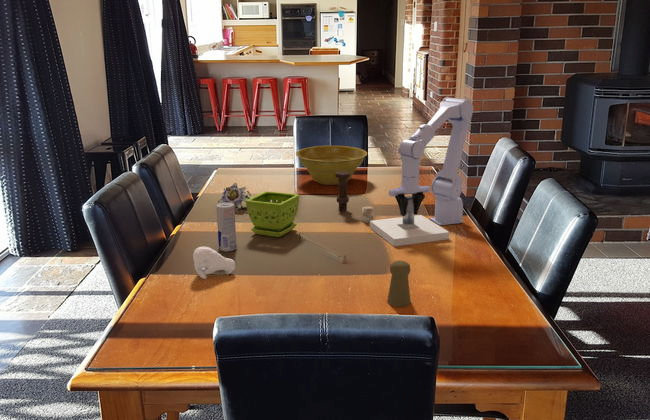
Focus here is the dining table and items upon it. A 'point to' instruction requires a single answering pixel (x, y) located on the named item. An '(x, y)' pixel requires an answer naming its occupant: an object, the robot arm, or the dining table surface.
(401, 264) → the pepper shaker
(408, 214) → the long pin
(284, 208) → the flower pot
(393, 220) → the hole plate
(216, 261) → the white rounded lumpy piece
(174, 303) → the dining table surface
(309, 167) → the planter bowl
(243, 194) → the passion flower
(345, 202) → the bolt
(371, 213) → the short pin
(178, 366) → the dining table surface
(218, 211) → the beverage can
